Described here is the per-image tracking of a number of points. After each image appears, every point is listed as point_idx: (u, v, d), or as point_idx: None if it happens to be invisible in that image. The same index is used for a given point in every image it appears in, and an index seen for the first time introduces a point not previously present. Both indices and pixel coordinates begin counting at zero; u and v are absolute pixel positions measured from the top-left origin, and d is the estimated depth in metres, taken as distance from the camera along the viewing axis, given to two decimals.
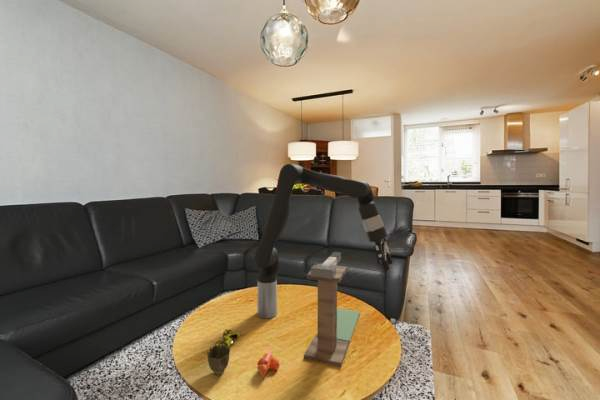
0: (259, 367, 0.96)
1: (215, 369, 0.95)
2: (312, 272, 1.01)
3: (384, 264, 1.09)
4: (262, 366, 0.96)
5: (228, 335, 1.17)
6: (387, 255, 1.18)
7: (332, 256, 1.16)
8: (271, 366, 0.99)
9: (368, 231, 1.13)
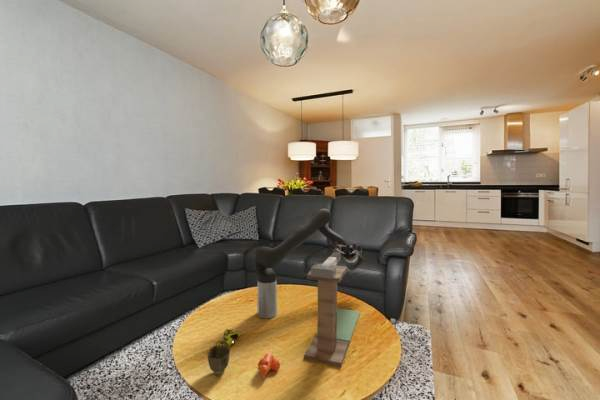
0: (260, 368, 0.96)
1: (215, 369, 0.95)
2: (312, 272, 1.01)
3: (356, 247, 1.36)
4: (263, 367, 0.96)
5: (229, 335, 1.17)
6: (337, 246, 1.41)
7: (332, 256, 1.16)
8: (272, 366, 0.98)
9: None
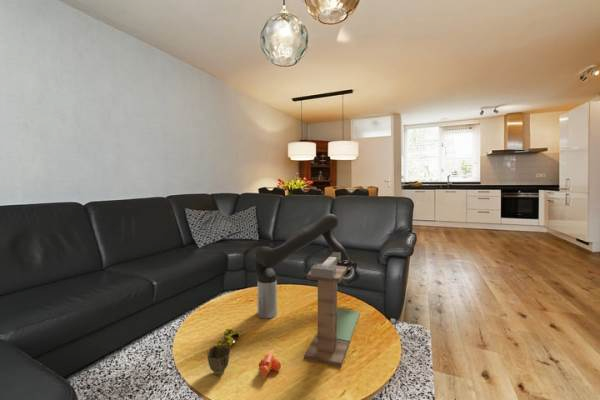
0: (261, 368, 0.95)
1: (215, 369, 0.95)
2: (312, 272, 1.01)
3: (351, 264, 1.26)
4: (264, 367, 0.95)
5: (229, 335, 1.17)
6: None
7: (332, 256, 1.16)
8: (272, 367, 0.98)
9: None
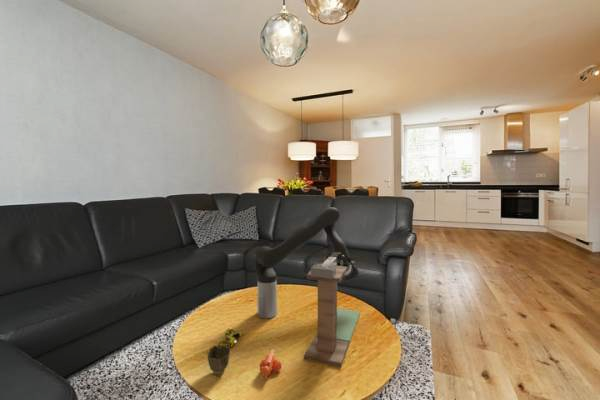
0: (262, 369, 0.95)
1: (215, 369, 0.95)
2: (312, 272, 1.01)
3: (342, 257, 1.19)
4: (265, 368, 0.95)
5: (231, 335, 1.17)
6: None
7: (332, 256, 1.16)
8: (273, 367, 0.98)
9: None
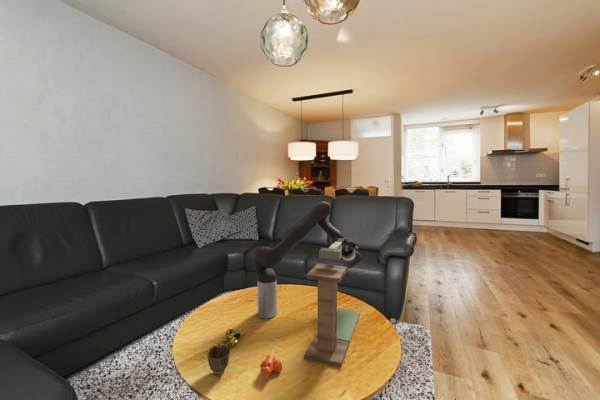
0: (262, 369, 0.95)
1: (215, 369, 0.95)
2: (320, 254, 1.11)
3: (347, 242, 1.28)
4: (265, 368, 0.95)
5: (231, 334, 1.18)
6: None
7: (338, 241, 1.25)
8: (274, 368, 0.98)
9: None
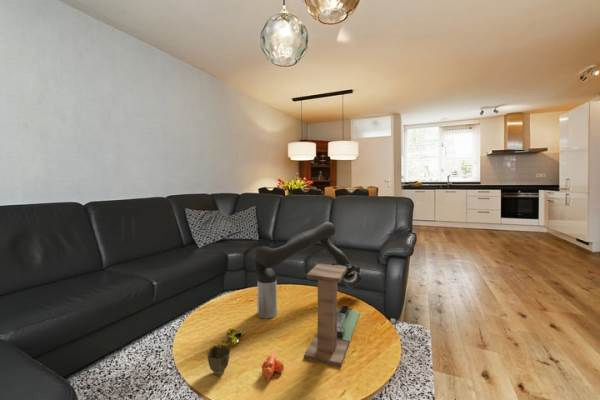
0: (264, 370, 0.94)
1: (215, 369, 0.95)
2: None
3: (354, 268, 1.35)
4: (267, 369, 0.94)
5: (232, 334, 1.18)
6: None
7: (341, 312, 1.34)
8: (276, 369, 0.97)
9: None
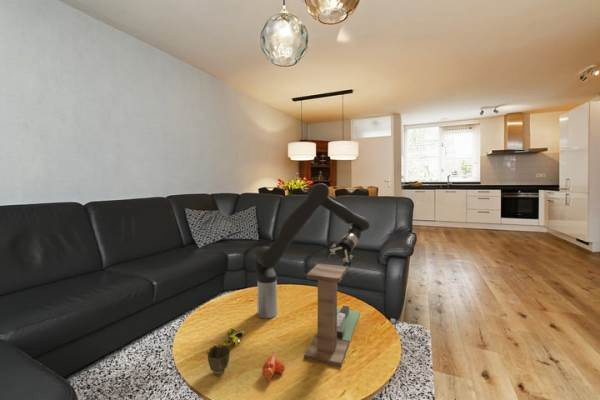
0: (265, 371, 0.94)
1: (215, 369, 0.95)
2: None
3: (345, 265, 1.37)
4: (268, 370, 0.94)
5: (233, 334, 1.18)
6: (330, 253, 1.40)
7: (341, 312, 1.34)
8: (276, 369, 0.97)
9: (354, 244, 1.45)
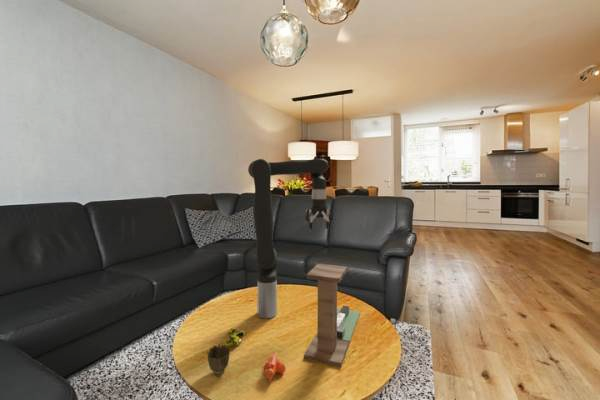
0: (266, 371, 0.94)
1: (215, 369, 0.95)
2: None
3: None
4: (269, 370, 0.94)
5: (234, 334, 1.18)
6: None
7: (341, 312, 1.34)
8: (277, 370, 0.97)
9: None
